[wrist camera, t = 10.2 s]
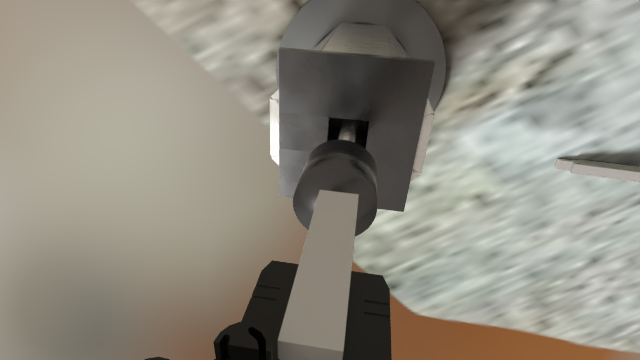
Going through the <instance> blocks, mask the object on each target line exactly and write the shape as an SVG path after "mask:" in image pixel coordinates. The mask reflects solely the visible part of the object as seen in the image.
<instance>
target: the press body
mask: <svg viewBox="0 0 640 360" xmlns="http://www.w3.org/2000/svg"><path fill="white" fill-rule="evenodd" d="M434 66H435V62H434V60H425V59H413V58H411V57H410V56H409V55H408V53H407V52H406V49H405V48H404V46H403V44H402V43H401V42H400V40H399V39H398V38H397V37H396V36H395V35H394V34H393V33H392V32H391V30H390V29H389V28H388V27H386V26H385V25H376V24H373V23H367V22H354V23H347V22H342V24H341V23H340V24H339V25H338V26H337V27H336V28H335V29H334V30H332V31H330V32H329V33H328V34H327V35H325V36H324V37H323V38H322V40H321V41H320V42H319V43H318V44H317V45H316V46H315V47H314V48H313V49H312V50H308V49H296V48H284V47H281V48H280V49H279V88H278V89H277V90H276V91H275V92H274V93H273V95H272V96H271V98H270V134H271V156H273V157H272V159H273V160H274V161H275V162H276V163H277V164H278V165H279V196H281V197H290V198H293V197H294V193H295V190H296V187H297V185H298V182H299V179H300V177H301V174H302V172H303V169H304V166H305V164H306V161H307V159H308V156H309V155H310V153H311V152H312V151H313V150H314V149H315V148H316V147H317V146H319V145H320V144H322V143H324V142H327V141H331V140H338V139H339V134H340V131H338V130H336V129H334V128H332V127H330V126H329V120H330V117H331V118H341V119H351V120H361V121H369V127H368V133H364V134H356V138H355V143H357V144H359V145H361V146H362V147H364V148H365V149H366V150H367V151H368V152H369V153H370V154H371V155H372V157H373V159H374V161H375V163H376V167H377V209H385V210H393V211H401V212H404V208H405V203H406V198H407V193H408V189H409V184H410V181H411V180H413V179H414V178H416V177H417V176H419V175H420V174H419V173H421V172H422V167H423V163H424V159H425V154H426V150H427V145H428V141H429V137H430V132H431V128H432V123H433V119H434V112H433V109H432V107H431V104H430V102H429V99H428V94H429V90H430V85H431V80H432V75H433V71H434Z"/></svg>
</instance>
